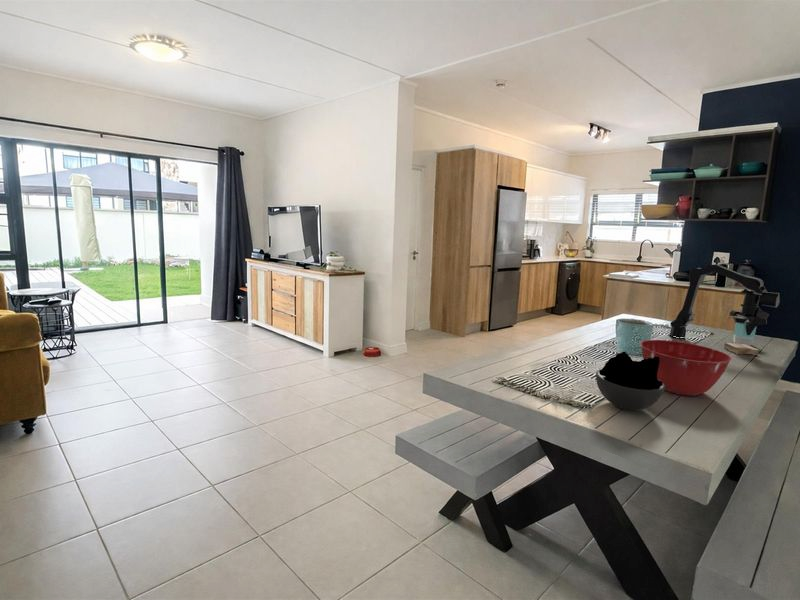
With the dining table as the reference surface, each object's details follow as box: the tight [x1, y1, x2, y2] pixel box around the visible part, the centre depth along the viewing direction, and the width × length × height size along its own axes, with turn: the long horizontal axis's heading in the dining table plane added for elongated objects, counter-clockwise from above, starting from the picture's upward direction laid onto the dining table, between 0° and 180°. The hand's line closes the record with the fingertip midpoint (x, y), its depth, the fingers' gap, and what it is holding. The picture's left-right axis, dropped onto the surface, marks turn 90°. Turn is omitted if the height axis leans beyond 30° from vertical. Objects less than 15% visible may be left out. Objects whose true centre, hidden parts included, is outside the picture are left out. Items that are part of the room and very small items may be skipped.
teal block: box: [733, 323, 758, 339], centre depth 219 cm, size 6×6×6 cm
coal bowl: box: [595, 351, 665, 411], centre depth 142 cm, size 20×20×19 cm
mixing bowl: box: [639, 339, 733, 397], centre depth 162 cm, size 28×28×16 cm
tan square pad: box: [723, 342, 760, 356], centre depth 220 cm, size 10×10×3 cm
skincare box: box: [732, 320, 755, 346], centre depth 236 cm, size 8×7×16 cm
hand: (744, 333), depth 219 cm, fingers closed on teal block, 6 cm apart
